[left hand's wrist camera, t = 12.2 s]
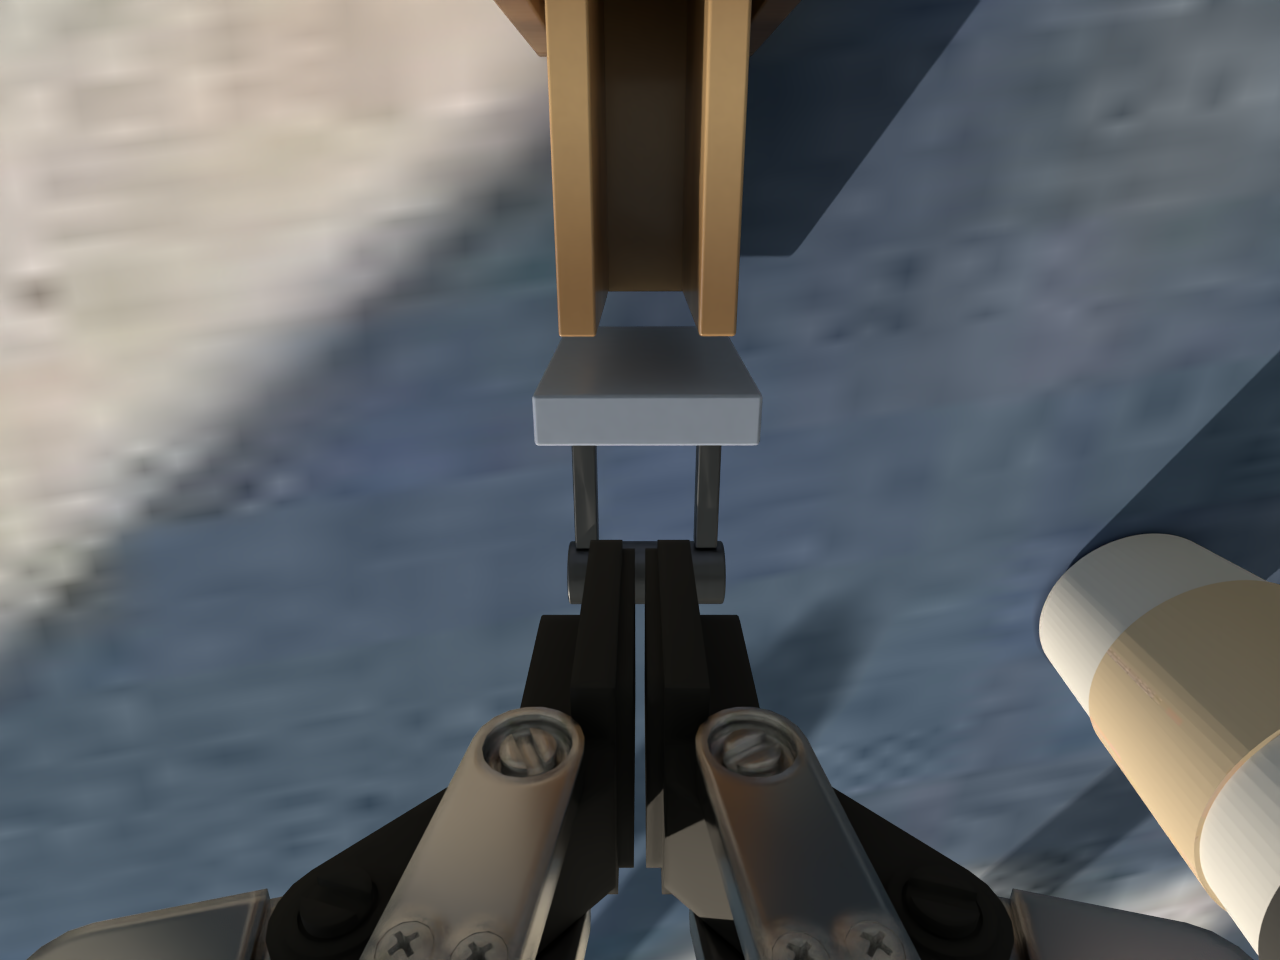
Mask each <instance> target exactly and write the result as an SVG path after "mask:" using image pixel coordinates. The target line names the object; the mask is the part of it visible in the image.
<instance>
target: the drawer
mask: <svg viewBox="0 0 1280 960" xmlns="http://www.w3.org/2000/svg"><path fill="white" fill-rule="evenodd" d="M751 6H752V0H545V18H546V42H547V65H548V89H549V112H550V136H551V159H552V183H553V206H554V229H555V253H556V276H557V300H558V323H559V335H560V336H562V339H561V341H560V343H559V345H558V347H557V349H556V351H555V353H554V355H553V357H552V359H551V361H550V363H549V365H548V367H547V369H546V371H545V373H544V375H543V377H542V379H541V381H540V383H539V385H538V387H537V389H536V391H535V393H534V395H533V398H532V400H533V418H534V435H535V443H536V445H539V446H564V445H572V466H573V492H574V518H575V541H572V542H570V545H569V551H568V566H567V586H568V599H569V602H570V604H582V597H583V590H584V583H585V576H586V568H587V561H588V554H589V547H590V541H591V540H599V523H598V483H597V445H696V472H695V507H694V541H690V547H691V554H692V561H693V568H694V576H695V583H696V590H697V597H698V604H722V603H723V601H724V597H725V584H726V568H725V553H724V546H723V543H722V542H721V541H717V536H718V512H719V488H720V464H721V445H758V444H759V442H760V430H761V414H762V399H763V397H762V395H761V393H760V391H759V389H758V388H757V386H756V384H755V382H754V381H753V379H752V377H751V375H750V374H749V372H748V370H747V368H746V367H745V365H744V363H743V361H742V359H741V358H740V356H739V354H738V352H737V351H736V349H735V347H734V345H733V344H732V342H731V340H730V338H729V337H728V336H734V335H735V334H736V324H737V303H738V281H739V260H740V239H741V218H742V197H743V175H744V154H745V133H746V112H747V91H748V70H749V48H750V27H751ZM608 291H683V293H684V296H685V298H686V301H687V303H688V306H689V309H690V311H691V314H692V316H693V319H694V322H695V324H696V326H686V327H598V326H599V322H600V319H601V315H602V312H603V308H604V305H605V301H606V298H607V294H608ZM622 542H623V548H635V604H645V548H657V542H658V541H622Z"/></svg>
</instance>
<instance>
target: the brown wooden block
mask: <svg viewBox="0 0 1280 960" xmlns="http://www.w3.org/2000/svg"><path fill="white" fill-rule="evenodd" d="M800 1H801V0H752V6H751V27H750V48H749V56H752V55H753V54H754V53H755V52H756V50H757V49H758V48H759V47H760V46H761V45H762V44H763V43H764V41H765V40H766V39H767V38H768V37H769V36H770V35H771V34H772V33H773V31H774V30H775V29H776V28H777V27H778V26H779V25H780V24H781V22H782V21H783V20H784V19H785V18H786V17H787V16H788V15H789V14H790V12H791V11H792V10H793V9H794V8H795V7H796V6H797V5H798V4H799V2H800ZM494 2H495V3H496V4H497V5H498V6H499V8H500V9H501V10H502V11H503V13H504V14H505V15H506V16H507V18H508V19H509V20H510V21H511V22H512V24H513V25H514V26H515V27H516V29H517V30H518V31H519V32H520V34H521V35H522V36H523V37H524V38H525V40H526V41H527V42H528V43H529V45H530V46H531V47H532V48H533V50H534V51H535V52H536V53H537V55H538V56H540V57H547V42H546V18H545V0H494Z"/></svg>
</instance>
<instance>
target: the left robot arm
mask: <svg viewBox="0 0 1280 960" xmlns="http://www.w3.org/2000/svg"><path fill="white" fill-rule="evenodd" d="M634 783H635V548H623V542H622V540H591V541H590V547H589V554H588V561H587V568H586V576H585V583H584V590H583V597H582V605H581V612H580V615H543V616H542V617H541V620H540V624H539V628H538V632H537V637H536V641H535V646H534V650H533V654H532V659H531V663H530V668H529V672H528V676H527V681H526V685H525V689H524V694H523V698H522V703H521V707H520V708H519V709H514V710H510V711H507V712H505V713H503V714H501V715H498V716H496V717H494V718H493V719H491V720H490V721H489V722H487V723H486V724H485V725H483V726H482V727H481V728H480V730H479V731H478V732H477V734H476V735H475V736H474V738H473V739H472V741H471V743H470V745H469V747H468V749H467V751H466V753H465V755H464V757H463V759H462V761H461V763H460V765H459V767H458V769H457V770H456V772H455V774H454V776H453V778H452V780H451V782H450V784H449V786H448V787H447V788H445V789H444V790H442V791H441V792H439V793H437V794H436V795H434V796H432V797H431V798H429V799H427V800H426V801H424V802H423V803H421V804H419V805H418V806H416V807H414V808H413V809H411V810H409V811H408V812H406V813H405V814H403V815H401V816H400V817H398V818H396V819H395V820H393V821H392V822H390V823H388V824H387V825H385V826H383V827H382V828H380V829H378V830H377V831H375V832H374V833H372V834H370V835H369V836H367V837H365V838H364V839H362V840H360V841H359V842H357V843H356V844H354V845H352V846H351V847H349V848H347V849H346V850H344V851H342V852H341V853H339V854H338V855H336V856H334V857H333V858H331V859H329V860H328V861H326V862H324V863H323V864H321V865H320V866H318V867H316V868H315V869H313V870H311V871H310V872H309V873H307V874H306V875H305V876H304V877H302V878H301V879H300V880H298V881H297V882H296V883H294V884H293V885H292V886H291V887H290V889H289V890H288V891H287V892H286V893H285V894H284V895H283V897H278V898H273V899H270V897H269V893H268V889H262V890H257V891H252V892H247V893H242V894H237V895H232V896H227V897H222V898H217V899H212V900H207V901H201V902H196V903H191V904H186V905H181V906H176V907H171V908H166V909H161V910H156V911H151V912H146V913H141V914H136V915H131V916H125V917H120V918H115V919H110V920H105V921H100V922H95V923H92V924H89V925H86V926H83V927H80V928H77V929H73V930H70V931H68V932H66V933H64V934H63V935H61V936H59V937H57V938H56V939H54V940H52V941H50V942H49V943H47V944H45V945H43V946H42V947H40V948H39V949H38V950H37V951H36V952H35V953H34V954H32V955H31V956H30V957H29V958H28V959H27V960H584V956H585V951H586V947H587V942H588V938H589V934H590V923H591V908H592V907H593V906H594V905H595V904H597V903H598V902H599V901H600V900H601V899H602V898H604V897H605V896H606V895H607V894H618V876H619V868H634ZM645 783H646V868H661V876H662V894H673V895H674V896H675V897H676V898H678V899H679V900H680V901H681V902H682V903H683V904H685V905H686V906H687V907H688V908H689V923H690V934H691V938H692V942H693V947H694V951H695V956H696V960H1253V959H1252V958H1251V957H1250V956H1249V955H1248V954H1246V953H1245V952H1244V951H1243V950H1242V949H1241V948H1240V947H1238V946H1237V945H1235V944H1233V943H1231V942H1230V941H1228V940H1226V939H1224V938H1223V937H1221V936H1219V935H1217V934H1216V933H1214V932H1212V931H1210V930H1207V929H1203V928H1200V927H1197V926H1194V925H1191V924H1188V923H1185V922H1180V921H1175V920H1170V919H1165V918H1160V917H1155V916H1149V915H1144V914H1139V913H1134V912H1129V911H1124V910H1119V909H1114V908H1109V907H1104V906H1099V905H1094V904H1089V903H1084V902H1079V901H1073V900H1068V899H1063V898H1058V897H1053V896H1048V895H1043V894H1038V893H1033V892H1028V891H1023V890H1018V889H1012V893H1011V897H1010V899H1007V898H1002V897H997V895H996V894H995V893H994V892H993V891H992V890H991V889H990V887H989V886H988V885H987V884H986V883H984V882H983V881H982V880H980V879H979V878H978V877H976V876H975V875H974V874H973V873H971V872H970V871H969V870H967V869H965V868H964V867H962V866H960V865H959V864H957V863H956V862H954V861H952V860H951V859H949V858H947V857H946V856H944V855H942V854H941V853H939V852H938V851H936V850H934V849H933V848H931V847H929V846H928V845H926V844H924V843H923V842H921V841H920V840H918V839H916V838H915V837H913V836H911V835H910V834H908V833H906V832H905V831H903V830H902V829H900V828H898V827H897V826H895V825H893V824H892V823H890V822H888V821H887V820H885V819H884V818H882V817H880V816H879V815H877V814H875V813H874V812H872V811H871V810H869V809H867V808H866V807H864V806H862V805H861V804H859V803H857V802H856V801H854V800H853V799H851V798H849V797H848V796H846V795H844V794H843V793H841V792H839V791H838V790H836V789H835V788H833V787H832V786H831V784H830V782H829V780H828V778H827V776H826V774H825V772H824V770H823V769H822V767H821V765H820V763H819V761H818V759H817V757H816V755H815V753H814V751H813V749H812V747H811V745H810V743H809V741H808V739H807V738H806V736H805V735H804V734H803V732H802V731H801V730H800V728H799V727H798V726H797V725H795V724H794V723H793V722H791V721H790V720H789V719H787V718H786V717H784V716H782V715H779V714H777V713H775V712H773V711H770V710H766V709H761V708H760V707H759V703H758V698H757V694H756V689H755V685H754V681H753V676H752V672H751V668H750V663H749V659H748V654H747V650H746V646H745V641H744V637H743V632H742V628H741V624H740V620H739V617H738V616H737V615H700V612H699V605H698V597H697V590H696V583H695V576H694V568H693V561H692V554H691V547H690V541H689V540H658V542H657V548H645Z"/></svg>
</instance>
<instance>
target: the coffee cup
mask: <svg viewBox="0 0 1280 960" xmlns="http://www.w3.org/2000/svg"><path fill="white" fill-rule="evenodd" d="M1039 633H1040V640H1041V644H1042V647H1043V650H1044V652H1045V654H1046V656H1047V657H1048V659H1049V660H1050V662H1051V663H1052V664H1053V666H1054V667H1055V669H1056V670H1057V671H1058V673H1059V674H1060V676H1061V677H1062V679H1063V680H1064V681H1065V683H1066V684H1067V686H1068V687H1069V688H1070V690H1071V691H1072V693H1073V694H1074V695H1075V697H1076V698H1077V700H1078V701H1079V703H1080V704H1081V705H1082V707H1083V708H1084V710H1085V711H1086V712H1087V714H1088V715H1089V717H1090V719H1091V722H1092V725H1093V728H1094V730H1095V732H1096V734H1097V735H1098V737H1099V738H1100V740H1101V741H1102V743H1103V744H1104V746H1105V747H1106V748H1107V750H1108V751H1109V753H1110V754H1111V756H1112V757H1113V758H1114V760H1115V761H1116V763H1117V764H1118V766H1119V767H1120V768H1121V770H1122V771H1123V773H1124V774H1125V776H1126V777H1127V778H1128V780H1129V781H1130V783H1131V784H1132V786H1133V787H1134V788H1135V790H1136V791H1137V793H1138V794H1139V796H1140V797H1141V799H1142V800H1143V801H1144V803H1145V804H1146V806H1147V807H1148V809H1149V810H1150V811H1151V813H1152V814H1153V816H1154V817H1155V819H1156V820H1157V821H1158V823H1159V824H1160V826H1161V827H1162V829H1163V830H1164V831H1165V833H1166V834H1167V836H1168V837H1169V839H1170V840H1171V841H1172V843H1173V844H1174V846H1175V847H1176V849H1177V850H1178V851H1179V853H1180V854H1181V856H1182V857H1183V859H1184V860H1185V862H1186V863H1187V864H1188V866H1189V867H1190V869H1191V870H1192V872H1193V873H1194V874H1195V876H1196V877H1197V879H1198V880H1199V882H1200V883H1201V884H1202V886H1203V887H1204V889H1205V890H1206V892H1207V893H1208V894H1209V896H1210V897H1211V898H1212V899H1213V900H1214V901H1215V902H1216V903H1217V904H1218V905H1219V906H1220V907H1222V908H1223V909H1224V910H1226V911H1227V912H1228V913H1229V914H1230V916H1231V917H1232V919H1233V920H1234V922H1235V923H1236V924H1237V926H1238V927H1239V929H1240V930H1241V931H1242V933H1243V934H1244V936H1245V937H1246V938H1247V940H1248V941H1249V943H1250V944H1251V946H1252V947H1253V948H1254V950H1255V951H1256V953H1257V954H1258V955H1259V960H1280V585H1279V584H1275V583H1271V582H1267V581H1266V580H1264V579H1262V578H1260V577H1258V576H1256V575H1254V574H1252V573H1250V572H1249V571H1247V570H1245V569H1243V568H1241V567H1239V566H1237V565H1235V564H1234V563H1232V562H1230V561H1228V560H1226V559H1224V558H1222V557H1220V556H1218V555H1217V554H1215V553H1213V552H1211V551H1209V550H1207V549H1205V548H1203V547H1202V546H1200V545H1198V544H1196V543H1194V542H1192V541H1190V540H1188V539H1185V538H1182V537H1179V536H1174V535H1169V534H1141V535H1135V536H1130V537H1126V538H1122V539H1119V540H1116V541H1113V542H1111V543H1108V544H1106V545H1104V546H1101V547H1100V548H1098V549H1096V550H1094V551H1092V552H1091V553H1089V554H1087V555H1086V556H1084V557H1083V558H1081V559H1080V560H1079V561H1078V562H1076V563H1075V564H1074V565H1073V566H1072V567H1070V568H1069V569H1068V570H1067V571H1066V572H1065V573H1064V574H1063V575H1062V577H1061V578H1060V579H1059V580H1058V581H1057V583H1056V584H1055V585H1054V587H1053V588H1052V590H1051V592H1050V593H1049V595H1048V597H1047V599H1046V601H1045V604H1044V606H1043V609H1042V613H1041V617H1040V624H1039Z"/></svg>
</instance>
